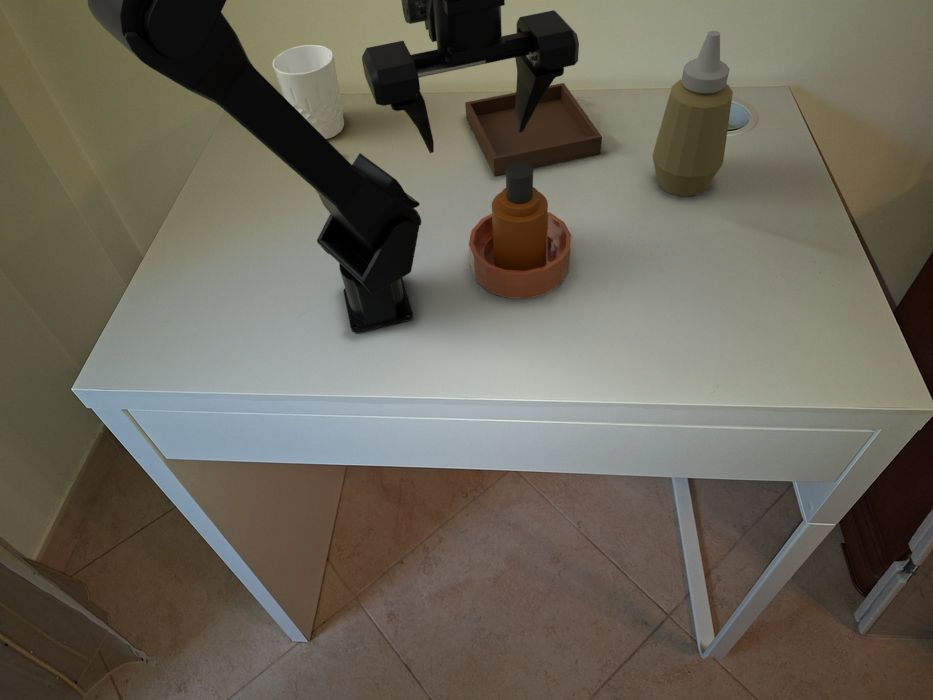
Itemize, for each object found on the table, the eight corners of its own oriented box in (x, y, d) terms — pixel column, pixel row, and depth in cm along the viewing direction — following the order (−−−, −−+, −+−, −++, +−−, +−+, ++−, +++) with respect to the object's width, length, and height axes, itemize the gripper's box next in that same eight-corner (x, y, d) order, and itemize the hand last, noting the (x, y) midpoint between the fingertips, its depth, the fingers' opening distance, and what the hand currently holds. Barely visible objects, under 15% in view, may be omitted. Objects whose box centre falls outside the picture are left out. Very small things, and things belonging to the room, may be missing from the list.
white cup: (339, 145, 92) (323, 74, 84) (285, 143, 93) (263, 73, 85) (354, 113, 97) (340, 44, 89) (302, 112, 98) (284, 44, 90)
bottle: (552, 274, 72) (557, 180, 63) (502, 286, 72) (499, 193, 62) (536, 241, 76) (538, 148, 67) (488, 252, 75) (483, 160, 66)
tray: (600, 153, 87) (602, 136, 85) (494, 176, 85) (493, 159, 83) (563, 99, 96) (563, 82, 94) (466, 118, 94) (464, 102, 92)
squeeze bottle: (666, 209, 79) (696, 59, 65) (636, 170, 84) (658, 23, 70) (729, 194, 80) (772, 43, 66) (696, 157, 85) (730, 9, 71)
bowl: (583, 288, 71) (585, 260, 68) (486, 311, 70) (484, 283, 67) (550, 227, 78) (551, 198, 75) (461, 246, 77) (458, 218, 74)
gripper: (538, -80, 61) (535, 83, 73) (336, -43, 59) (367, 119, 71) (586, -36, 54) (575, 136, 66) (359, 8, 52) (390, 178, 64)
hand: (475, 140), depth 67 cm, fingers open, 9 cm apart
